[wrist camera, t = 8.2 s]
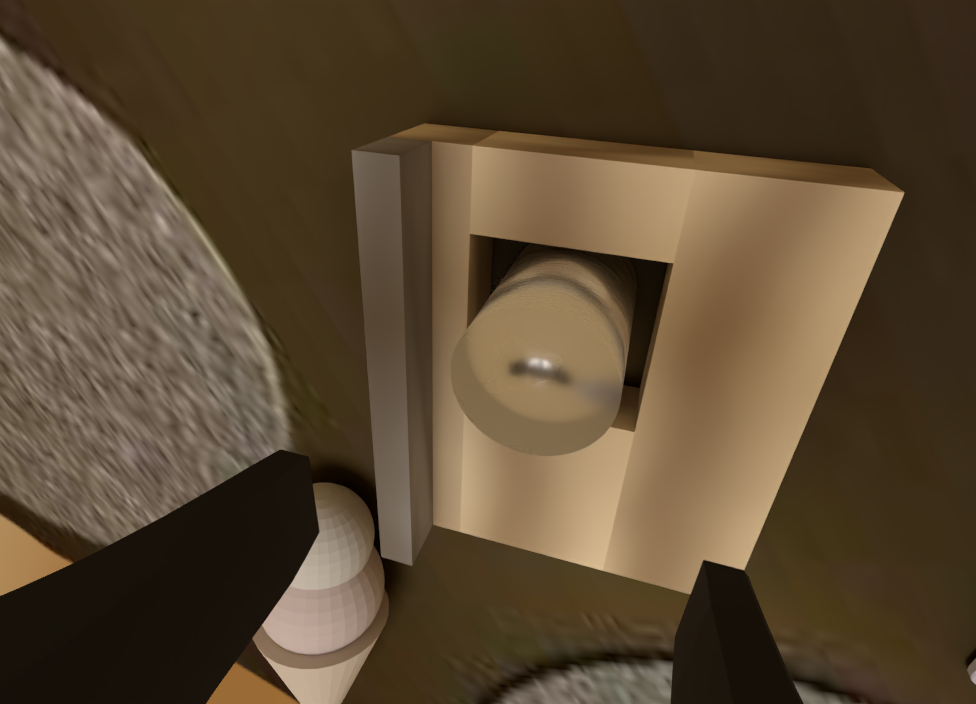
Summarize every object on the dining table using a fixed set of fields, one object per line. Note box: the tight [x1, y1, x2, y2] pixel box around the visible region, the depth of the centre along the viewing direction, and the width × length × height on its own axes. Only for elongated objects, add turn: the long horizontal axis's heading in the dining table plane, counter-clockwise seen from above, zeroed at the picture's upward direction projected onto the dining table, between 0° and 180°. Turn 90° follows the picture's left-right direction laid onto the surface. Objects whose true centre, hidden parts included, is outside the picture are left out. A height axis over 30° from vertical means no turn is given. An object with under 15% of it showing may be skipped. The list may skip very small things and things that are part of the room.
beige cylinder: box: [451, 242, 637, 456], centre depth 15 cm, size 4×4×6 cm
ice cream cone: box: [253, 483, 389, 704], centre depth 26 cm, size 6×6×15 cm
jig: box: [352, 123, 904, 594], centre depth 17 cm, size 12×14×4 cm
